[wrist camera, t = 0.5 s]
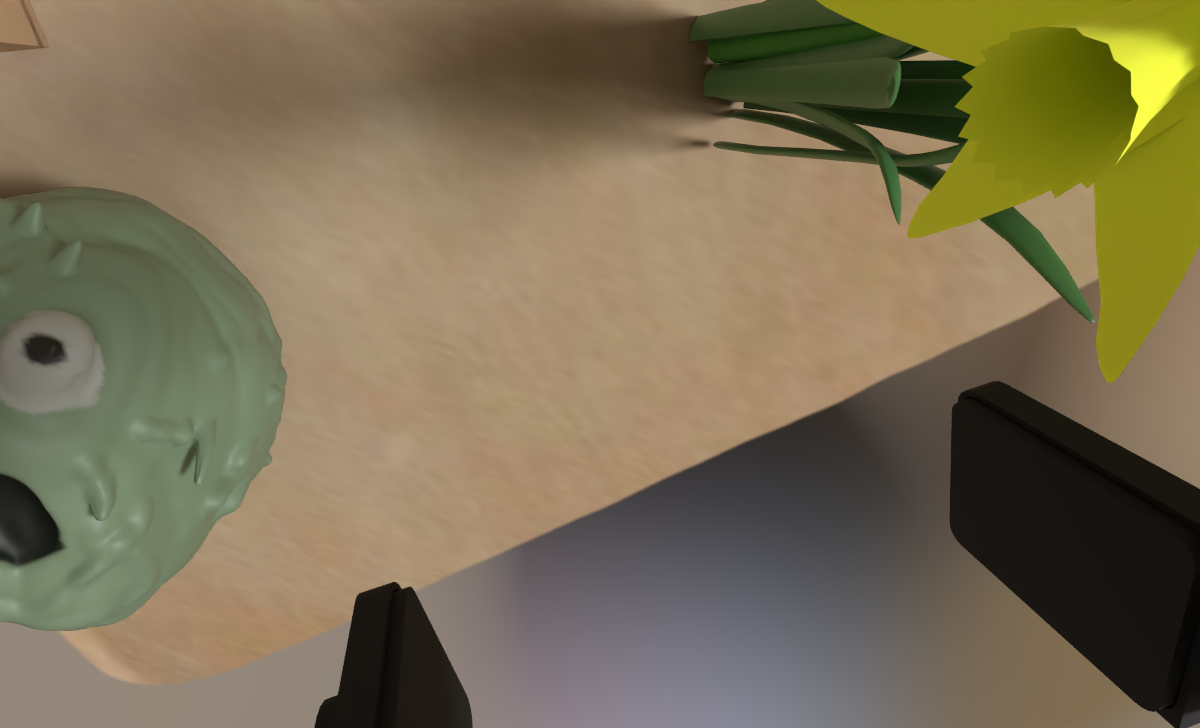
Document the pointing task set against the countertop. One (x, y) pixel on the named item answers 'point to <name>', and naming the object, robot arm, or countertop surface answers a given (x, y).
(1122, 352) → the daffodil flowers
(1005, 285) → the countertop surface
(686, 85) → the countertop surface
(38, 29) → the carton
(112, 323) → the green lumpy rounded blob
